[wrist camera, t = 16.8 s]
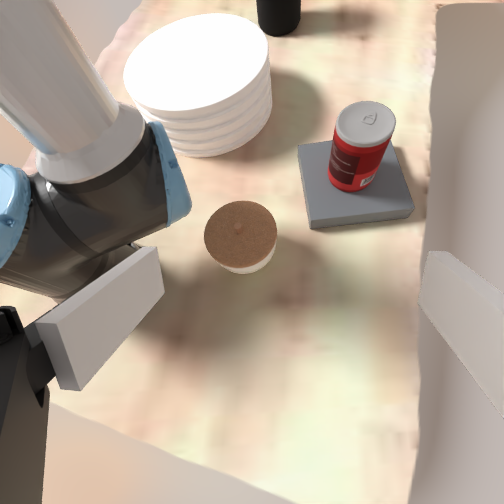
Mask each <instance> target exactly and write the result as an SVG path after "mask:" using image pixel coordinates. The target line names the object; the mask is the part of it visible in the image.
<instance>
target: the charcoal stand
mask: <svg viewBox="0 0 504 504" xmlns="http://www.w3.org/2000/svg"><path fill="white" fill-rule="evenodd" d="M332 142H333V140H331V141H324V142H318V143H311V144H304V145H298V161H299V167H300V173H301V179H302V185H303V191H304V197H305V203H306V209H307V215H308V221H309V227H310V229H316V228H324V227H333V226H341V225H350V224H358V223H367V222H375V221H384V220H392V219H401V218H408V216H409V215H410V214H411V212H412V211H413V210H414V208H415V207H414V204H413V201H412V199H411V196H410V193H409V190H408V187H407V185H406V182H405V179H404V176H403V173H402V171H401V168H400V165H399V162H398V159H397V156H396V154H395V151H394V148H393V145H392V142H391V140H390V142H389V144H388V146H387V149H386V151H385V153H384V156H383V158H382V160H381V163H380V165H379V167H378V170H377V172H376V174H375V177H374V179H373V180H372V182H371V183H370V184H369V185H368V186H367V187H366V188H364V189H362V190H360V191H356V192H344V191H341V190H339V189H337V188H336V187H334V186H333V185H332V183H331V182H330V180H329V177H328V165H329V159H330V154H331V148H332Z"/></svg>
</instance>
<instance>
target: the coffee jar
mask: <svg viewBox="0 0 504 504" xmlns="http://www.w3.org/2000/svg"><path fill="white" fill-rule="evenodd" d="M256 2H257V13H258V23H259V26H260V28H261V29H262V31H263V32H264V33H266V34H268V35H270V36H282V35H285V34H288V33H290V32H292V31H293V30H294V29H295V28H296V27H297V25H298V23H299V21H300V11H301V0H256Z"/></svg>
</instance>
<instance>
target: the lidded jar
mask: <svg viewBox="0 0 504 504" xmlns="http://www.w3.org/2000/svg"><path fill="white" fill-rule="evenodd" d="M276 238H277V228H276V223H275V220H274V218H273V216H272V214H271V213H270V212H269V211H268V210H267V209H266V208H265V207H263V206H262V205H260V204H257V203H255V202H251V201H236V202H232V203H229V204H226V205H224V206H223V207H221V208H219V209H218V210H217V211H216V212H215V213H214V214H213V215H212V216H211V217H210V219H209V220H208V222H207V224H206V227H205V232H204V241H205V245H206V248H207V250H208V252H209V253H210V255H211V256H212V257H213V258H214V259H215V260H216V261H217V262H218V263H219V264H220V265H221V266H222V267H224V268H225V269H227V270H229V271H231V272H234V273H239V274H247V273H252V272H255V271H257V270H259V269H261V268H262V267H264V266H265V265H266V264H267V263H268V262H269V261H270V259H271V257H272V256H273V254H274V251H275V247H276Z"/></svg>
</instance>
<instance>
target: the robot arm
mask: <svg viewBox="0 0 504 504" xmlns="http://www.w3.org/2000/svg"><path fill="white" fill-rule="evenodd" d="M0 114H1V115H2V116H3V117H4V118H5V119H6V120H8V121H9V122H10V123H11V124H12V125H13V126H14V127H15V128H16V129H17V130H18V131H19V132H20V133H21V134H22V135H23V136H24V137H25V138H26V139H27V140H28V141H29V142H30V143H31V144H32V145H33V146H35V147H36V162H35V163H36V168H37V170H38V172H37V173H35V174H32V175H27V174H26V173H25V172H24V171H23V170H21V169H20V168H16V167H13V166H11V165H5V164H0V283H4V284H7V285H10V286H14V287H17V288H21V289H24V290H27V291H31V292H34V293H38V294H41V295H45V296H48V297H51V298H52V299H53V300H54V301H55V302H56V303H58V305H57V306H55V307H54V308H53V309H52V310H49V311H48V312H47V313H45V314H44V315H42V316H41V317H39V318H38V319H36V320H35V321H33V322H32V323H31V324H29V325H28V326H26V327H25V328H23V325H22V323H21V320H20V318H19V316H18V313H17V311H16V308H15V307H12V306H1V307H0V504H42V491H43V478H44V465H45V451H46V438H47V424H48V411H49V398H50V392H49V388H48V386H47V384H48V383H49V382H50V381H51V380H52V379H53V378H54V377H55V376H56V378H57V381H58V384H59V386H60V389H64V390H74V391H81V390H82V389H83V388H84V387H85V386H86V384H87V383H88V382H89V381H90V380H91V379H92V377H93V376H94V375H95V374H96V373H97V372H98V370H99V369H100V368H101V367H102V366H103V365H104V363H105V362H106V361H107V360H108V359H109V358H110V356H111V355H112V354H113V353H114V352H115V351H116V349H117V348H118V347H119V346H120V345H121V344H122V342H123V341H124V340H125V339H126V338H127V337H128V335H129V334H130V333H131V332H132V331H133V330H134V328H135V327H136V326H137V325H138V324H139V323H140V321H141V320H142V319H143V318H144V317H145V316H146V314H147V313H148V312H149V311H150V310H151V309H152V307H153V306H154V305H155V304H156V303H157V302H158V300H159V299H160V298H161V297H162V296H163V295H164V294H165V290H164V285H163V279H162V273H161V268H160V262H159V256H158V251H157V247H142V248H141V249H140V248H139V247H138V246H137V245H136V244H135V243H133V242H134V241H136V240H138V239H140V238H143V237H145V236H147V235H150V234H152V233H154V232H156V231H159V230H161V229H163V228H167V227H169V226H170V225H171V224H172V223H174V222H176V221H178V220H180V219H181V218H183V217H185V216H187V215H188V214H189V212H190V211H191V208H192V201H191V198H190V194H189V191H188V188H187V185H186V183H185V180H184V177H183V174H182V172H181V169H180V167H179V165H178V162H177V159H176V156H175V154H174V151H173V148H172V145H171V143H170V140H169V138H168V135H167V133H166V131H165V128H164V126H163V125H162V123H161V122H159V121H156V122H153V121H152V122H151V121H150V122H148V123H146V121H145V119H144V118H143V116H142V114H141V113H140V112H139V110H138V109H136V108H135V107H133V106H131V105H128V104H125V103H121V102H118V101H116V100H115V99H114V97H113V95H112V94H111V92H110V91H109V89H108V87H107V86H106V84H105V83H104V81H103V79H102V78H101V76H100V75H99V73H98V71H97V70H96V68H95V67H94V65H93V63H92V62H91V60H90V59H89V57H88V55H87V54H86V52H85V51H84V49H83V47H82V46H81V44H80V43H79V41H78V40H77V38H76V36H75V35H74V33H73V32H72V30H71V28H70V27H69V25H68V24H67V22H66V20H65V19H64V17H63V16H62V14H61V12H60V11H59V9H58V8H57V6H56V4H55V3H54V1H53V0H0ZM418 305H419V306H420V307H421V309H422V310H423V311H424V313H425V314H426V315H427V317H428V318H429V319H430V321H431V322H432V324H433V325H434V326H435V327H436V329H437V330H438V332H439V333H440V334H441V335H442V337H443V338H444V340H445V341H446V342H447V344H448V345H449V346H450V348H451V349H452V350H453V351H454V353H455V354H456V356H457V357H458V358H459V360H460V361H461V362H462V364H463V365H464V366H465V368H466V369H467V370H468V372H469V373H470V374H471V376H472V377H473V378H474V380H475V381H476V382H477V384H478V385H479V386H480V388H481V389H482V390H483V392H484V393H485V395H486V396H487V397H488V399H489V400H490V401H491V403H492V404H493V405H494V407H495V408H496V409H497V411H498V412H499V413H500V415H501V416H502V417H503V419H504V293H503V292H502V291H500V290H499V289H498V288H496V287H495V286H494V285H492V284H491V283H489V282H488V281H487V280H485V279H484V278H483V277H481V276H480V275H479V274H477V273H476V272H474V271H473V270H472V269H470V268H469V267H468V266H466V265H465V264H464V263H462V262H461V261H459V260H458V259H457V258H455V257H454V256H453V255H451V254H450V253H449V252H447V251H429V252H428V256H427V260H426V265H425V270H424V275H423V280H422V284H421V289H420V294H419V299H418Z"/></svg>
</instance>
